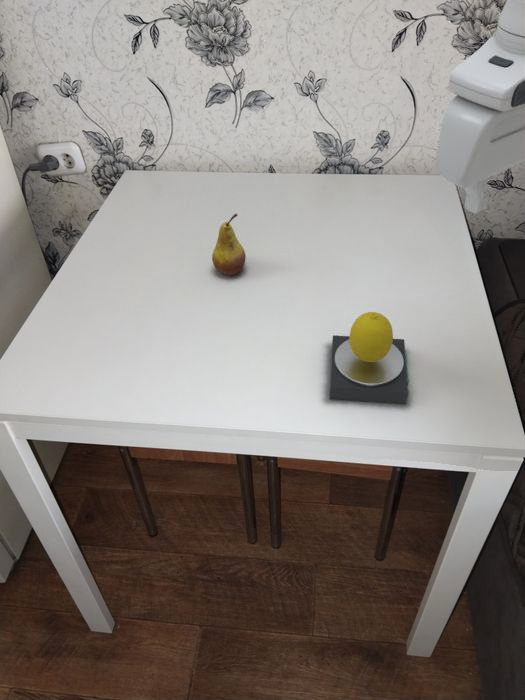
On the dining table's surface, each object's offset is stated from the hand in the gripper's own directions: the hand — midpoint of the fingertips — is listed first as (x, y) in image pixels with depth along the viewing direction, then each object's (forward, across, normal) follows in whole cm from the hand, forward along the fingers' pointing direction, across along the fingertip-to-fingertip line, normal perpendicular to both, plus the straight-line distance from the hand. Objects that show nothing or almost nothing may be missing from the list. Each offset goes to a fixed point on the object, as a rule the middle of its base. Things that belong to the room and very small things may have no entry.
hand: (505, 195), depth 64 cm
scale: (+26, +12, -6) cm, 30 cm away
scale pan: (+24, +12, -6) cm, 27 cm away
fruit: (+26, +14, -38) cm, 49 cm away
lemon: (+23, +12, -6) cm, 27 cm away
